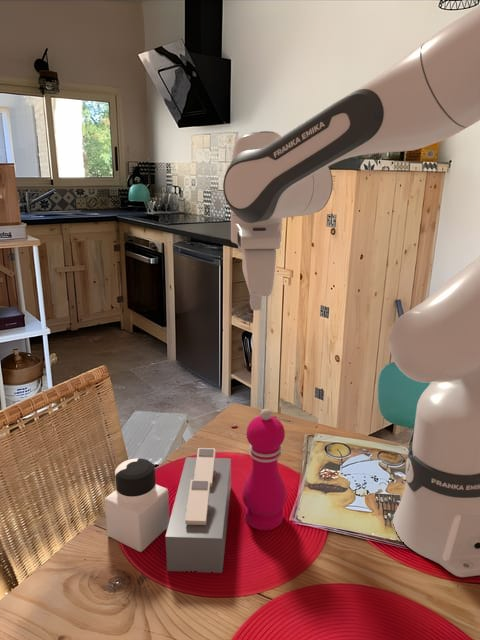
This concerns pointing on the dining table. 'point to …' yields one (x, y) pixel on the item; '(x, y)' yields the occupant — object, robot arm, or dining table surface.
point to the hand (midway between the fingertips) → (255, 308)
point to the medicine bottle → (136, 505)
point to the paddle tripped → (205, 464)
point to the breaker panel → (200, 540)
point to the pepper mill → (264, 473)
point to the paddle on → (197, 502)
